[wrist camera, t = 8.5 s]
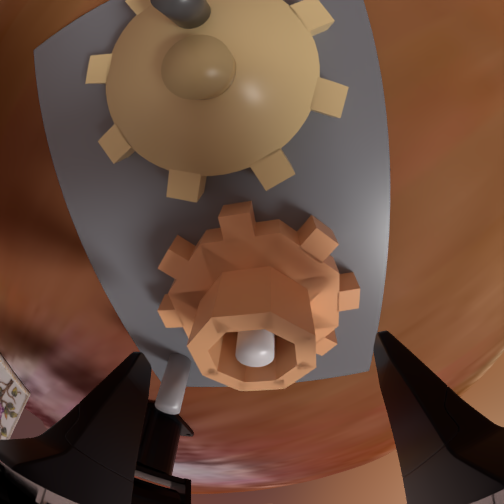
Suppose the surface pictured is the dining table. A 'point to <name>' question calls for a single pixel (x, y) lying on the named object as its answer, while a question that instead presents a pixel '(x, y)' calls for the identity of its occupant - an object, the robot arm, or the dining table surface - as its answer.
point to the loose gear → (257, 295)
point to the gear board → (219, 151)
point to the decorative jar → (10, 399)
